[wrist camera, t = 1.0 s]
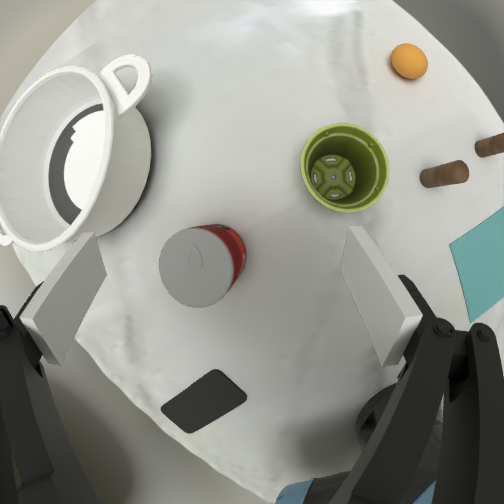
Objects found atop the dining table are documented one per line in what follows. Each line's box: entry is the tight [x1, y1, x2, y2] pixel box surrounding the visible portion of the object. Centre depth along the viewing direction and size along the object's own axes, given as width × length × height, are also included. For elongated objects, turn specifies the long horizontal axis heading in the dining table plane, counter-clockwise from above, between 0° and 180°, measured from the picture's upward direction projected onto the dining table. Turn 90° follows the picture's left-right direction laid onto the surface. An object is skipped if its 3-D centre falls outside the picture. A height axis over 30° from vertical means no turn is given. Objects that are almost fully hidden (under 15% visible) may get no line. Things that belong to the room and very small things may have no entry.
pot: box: [0, 54, 152, 252], centre depth 33 cm, size 33×23×14 cm
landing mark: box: [450, 207, 504, 323], centre depth 34 cm, size 14×14×1 cm
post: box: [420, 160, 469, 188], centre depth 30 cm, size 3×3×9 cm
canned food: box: [159, 224, 246, 308], centre depth 34 cm, size 8×8×11 cm
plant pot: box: [300, 123, 389, 212], centre depth 32 cm, size 9×9×9 cm
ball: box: [391, 44, 428, 79], centre depth 30 cm, size 6×6×6 cm
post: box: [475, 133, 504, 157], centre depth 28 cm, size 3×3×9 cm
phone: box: [161, 369, 247, 433], centre depth 43 cm, size 7×1×15 cm
